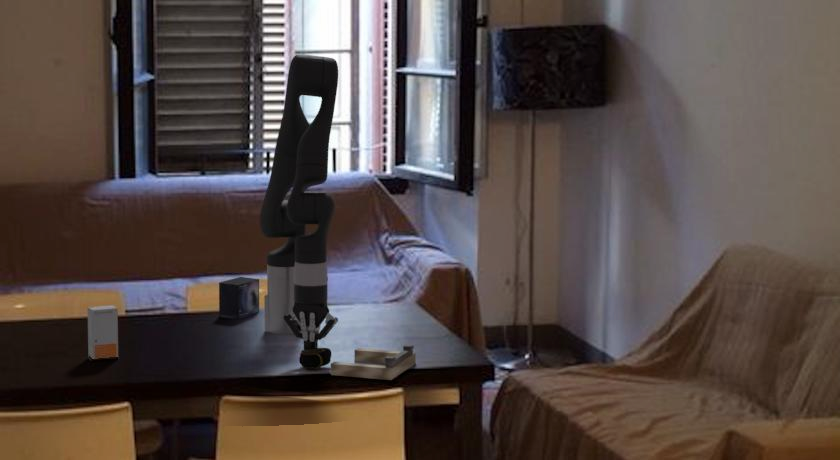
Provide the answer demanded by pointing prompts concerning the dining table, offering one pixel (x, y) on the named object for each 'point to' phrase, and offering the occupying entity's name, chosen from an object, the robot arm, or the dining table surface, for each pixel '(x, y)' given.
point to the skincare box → (102, 332)
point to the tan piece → (393, 360)
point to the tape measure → (315, 357)
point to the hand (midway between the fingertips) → (310, 356)
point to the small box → (238, 297)
